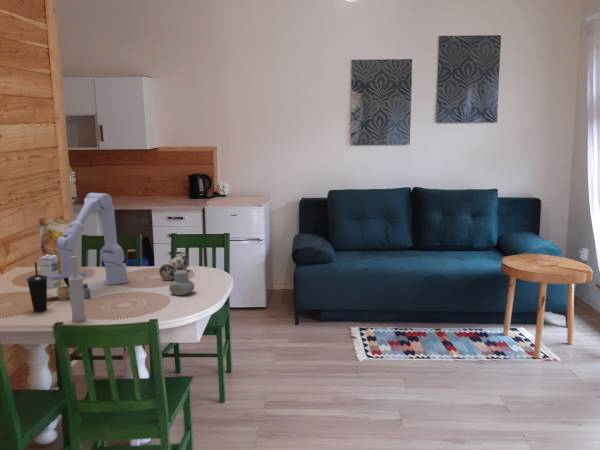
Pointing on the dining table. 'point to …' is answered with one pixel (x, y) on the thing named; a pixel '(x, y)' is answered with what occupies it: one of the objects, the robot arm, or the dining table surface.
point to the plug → (60, 294)
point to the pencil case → (174, 266)
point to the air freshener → (181, 283)
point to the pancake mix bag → (51, 236)
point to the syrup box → (50, 269)
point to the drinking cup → (38, 291)
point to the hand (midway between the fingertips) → (70, 294)
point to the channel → (86, 291)
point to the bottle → (76, 293)
